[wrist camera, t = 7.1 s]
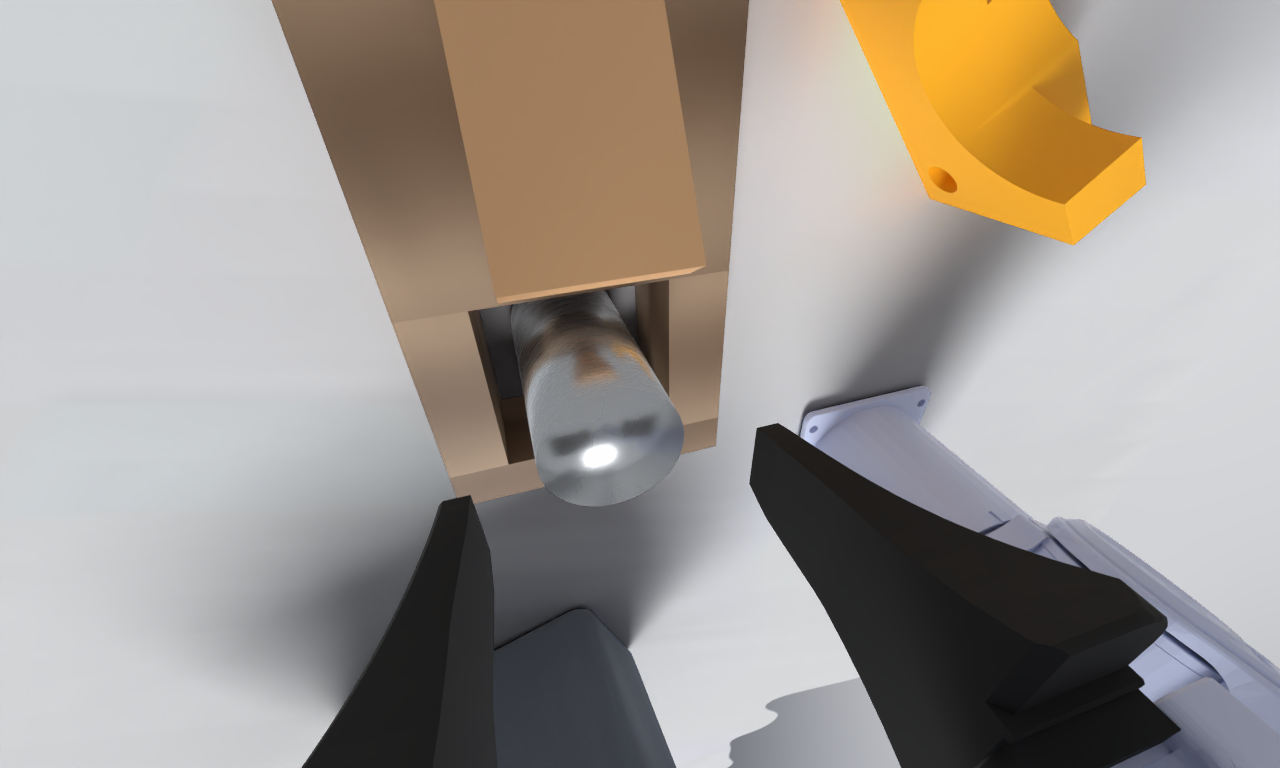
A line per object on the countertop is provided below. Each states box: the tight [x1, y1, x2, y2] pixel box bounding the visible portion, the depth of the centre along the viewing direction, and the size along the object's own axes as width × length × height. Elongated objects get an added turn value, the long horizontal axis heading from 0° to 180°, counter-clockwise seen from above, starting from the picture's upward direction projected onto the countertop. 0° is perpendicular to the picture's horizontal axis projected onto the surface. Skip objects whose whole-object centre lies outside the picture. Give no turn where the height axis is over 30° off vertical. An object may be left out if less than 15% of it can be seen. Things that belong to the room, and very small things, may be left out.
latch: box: [434, 0, 707, 303], centre depth 9 cm, size 8×4×1 cm
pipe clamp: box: [840, 0, 1146, 245], centre depth 15 cm, size 12×4×6 cm, turn 44°
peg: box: [510, 290, 684, 506], centre depth 16 cm, size 4×4×8 cm
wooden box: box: [272, 0, 749, 504], centre depth 15 cm, size 17×10×6 cm, turn 2°
